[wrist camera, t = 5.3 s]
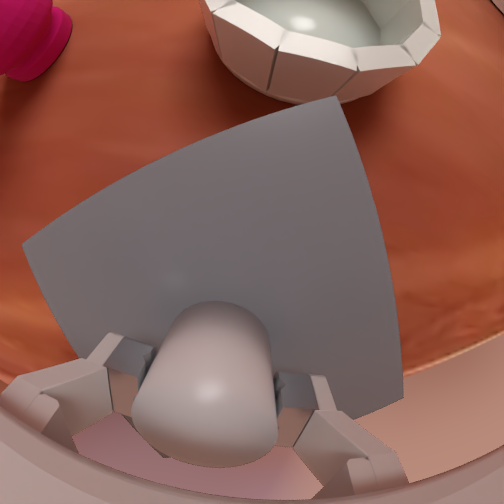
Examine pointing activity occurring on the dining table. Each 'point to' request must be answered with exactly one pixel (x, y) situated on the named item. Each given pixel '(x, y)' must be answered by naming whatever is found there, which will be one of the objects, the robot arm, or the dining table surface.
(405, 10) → the bowl
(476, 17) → the dining table surface
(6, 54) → the pepper mill
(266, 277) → the lid
